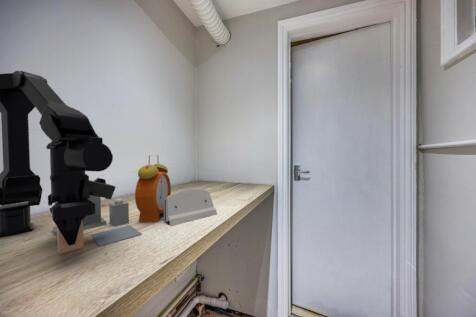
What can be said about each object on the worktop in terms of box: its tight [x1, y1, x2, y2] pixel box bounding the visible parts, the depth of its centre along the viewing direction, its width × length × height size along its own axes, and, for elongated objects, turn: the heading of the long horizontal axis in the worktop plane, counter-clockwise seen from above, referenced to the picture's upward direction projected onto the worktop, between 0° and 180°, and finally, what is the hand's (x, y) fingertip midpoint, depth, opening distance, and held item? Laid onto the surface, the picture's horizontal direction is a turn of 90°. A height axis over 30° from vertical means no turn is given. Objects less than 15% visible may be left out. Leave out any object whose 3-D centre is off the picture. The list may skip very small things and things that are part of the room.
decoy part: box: [108, 197, 130, 228], centre depth 59 cm, size 4×4×7 cm
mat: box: [90, 224, 143, 247], centre depth 50 cm, size 9×9×1 cm
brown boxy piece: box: [56, 220, 85, 255], centre depth 43 cm, size 4×4×7 cm
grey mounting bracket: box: [163, 188, 218, 227], centre depth 64 cm, size 17×5×10 cm, turn 131°
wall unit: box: [52, 195, 107, 237], centre depth 55 cm, size 5×11×10 cm, turn 136°
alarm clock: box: [134, 154, 172, 223], centre depth 65 cm, size 13×6×20 cm, turn 178°
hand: (70, 241), depth 44 cm, fingers closed on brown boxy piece, 4 cm apart
